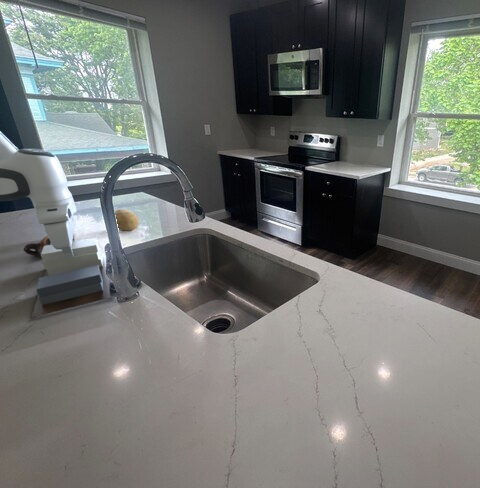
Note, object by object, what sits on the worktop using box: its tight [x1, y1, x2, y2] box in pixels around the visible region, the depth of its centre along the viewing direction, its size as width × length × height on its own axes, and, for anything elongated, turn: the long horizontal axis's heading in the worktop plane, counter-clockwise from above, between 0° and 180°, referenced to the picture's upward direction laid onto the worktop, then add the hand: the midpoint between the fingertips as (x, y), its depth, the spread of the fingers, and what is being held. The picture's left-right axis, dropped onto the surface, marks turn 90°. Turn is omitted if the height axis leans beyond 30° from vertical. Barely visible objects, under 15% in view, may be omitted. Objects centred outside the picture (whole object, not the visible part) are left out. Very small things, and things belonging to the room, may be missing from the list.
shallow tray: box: [30, 251, 111, 319], centre depth 88 cm, size 16×32×2 cm, turn 34°
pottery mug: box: [23, 235, 51, 257], centre depth 101 cm, size 12×10×8 cm
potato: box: [114, 208, 140, 232], centre depth 123 cm, size 10×14×8 cm
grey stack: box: [36, 265, 103, 305], centre depth 81 cm, size 13×7×5 cm, turn 124°
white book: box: [40, 237, 99, 262], centre depth 92 cm, size 13×6×2 cm, turn 124°
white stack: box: [41, 245, 103, 276], centre depth 93 cm, size 13×7×5 cm, turn 124°
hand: (71, 250), depth 92 cm, fingers open, 8 cm apart
